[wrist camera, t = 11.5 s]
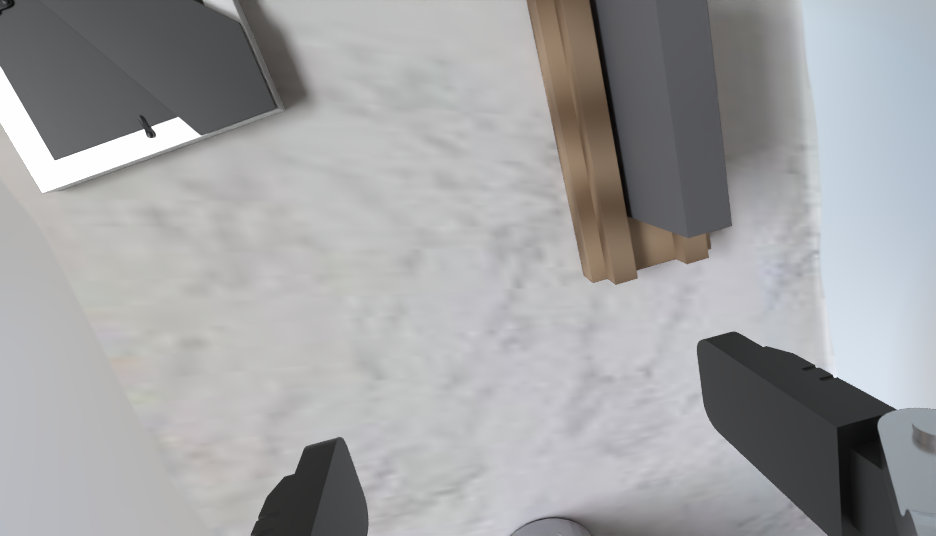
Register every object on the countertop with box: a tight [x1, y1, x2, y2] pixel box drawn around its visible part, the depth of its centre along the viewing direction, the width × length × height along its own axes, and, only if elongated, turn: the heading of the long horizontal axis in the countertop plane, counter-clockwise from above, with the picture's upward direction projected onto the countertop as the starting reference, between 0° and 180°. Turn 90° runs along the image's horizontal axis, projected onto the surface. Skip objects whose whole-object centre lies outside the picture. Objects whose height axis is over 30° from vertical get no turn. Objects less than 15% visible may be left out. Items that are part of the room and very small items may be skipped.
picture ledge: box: [527, 0, 711, 284], centre depth 32 cm, size 22×9×4 cm, turn 15°
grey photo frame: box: [590, 0, 732, 238], centre depth 28 cm, size 14×2×8 cm, turn 15°
